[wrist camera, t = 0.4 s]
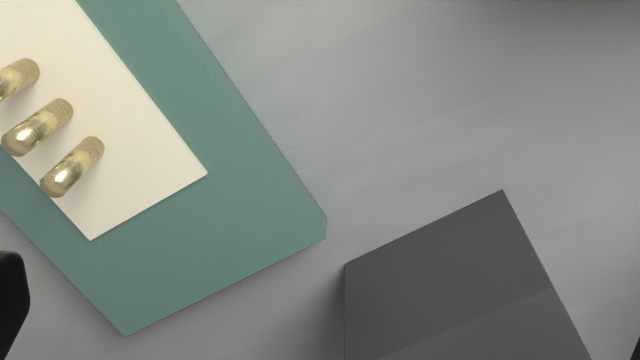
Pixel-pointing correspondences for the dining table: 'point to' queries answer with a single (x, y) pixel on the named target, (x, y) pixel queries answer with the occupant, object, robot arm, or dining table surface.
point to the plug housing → (458, 294)
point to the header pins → (45, 131)
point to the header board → (145, 160)
